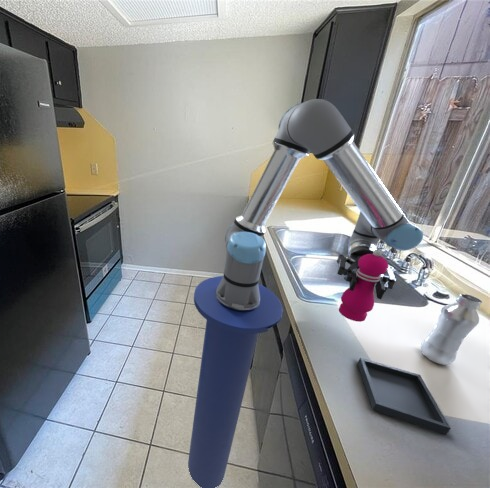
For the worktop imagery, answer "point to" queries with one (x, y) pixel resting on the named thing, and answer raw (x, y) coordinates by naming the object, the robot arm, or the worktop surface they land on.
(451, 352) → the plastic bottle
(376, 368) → the tray
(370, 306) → the pepper mill
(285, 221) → the worktop surface
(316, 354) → the worktop surface
